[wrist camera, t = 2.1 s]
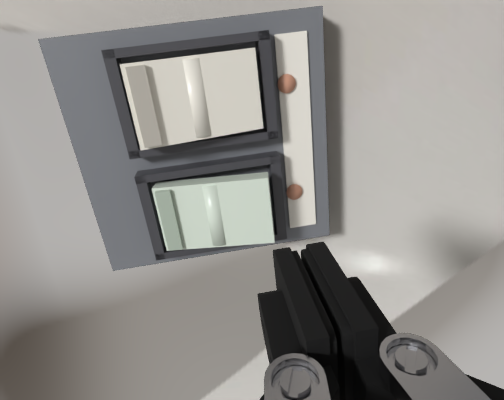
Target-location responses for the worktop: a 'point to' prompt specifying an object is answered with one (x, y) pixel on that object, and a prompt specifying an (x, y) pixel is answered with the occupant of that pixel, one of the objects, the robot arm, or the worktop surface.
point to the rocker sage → (215, 211)
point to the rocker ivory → (193, 97)
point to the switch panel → (200, 151)
